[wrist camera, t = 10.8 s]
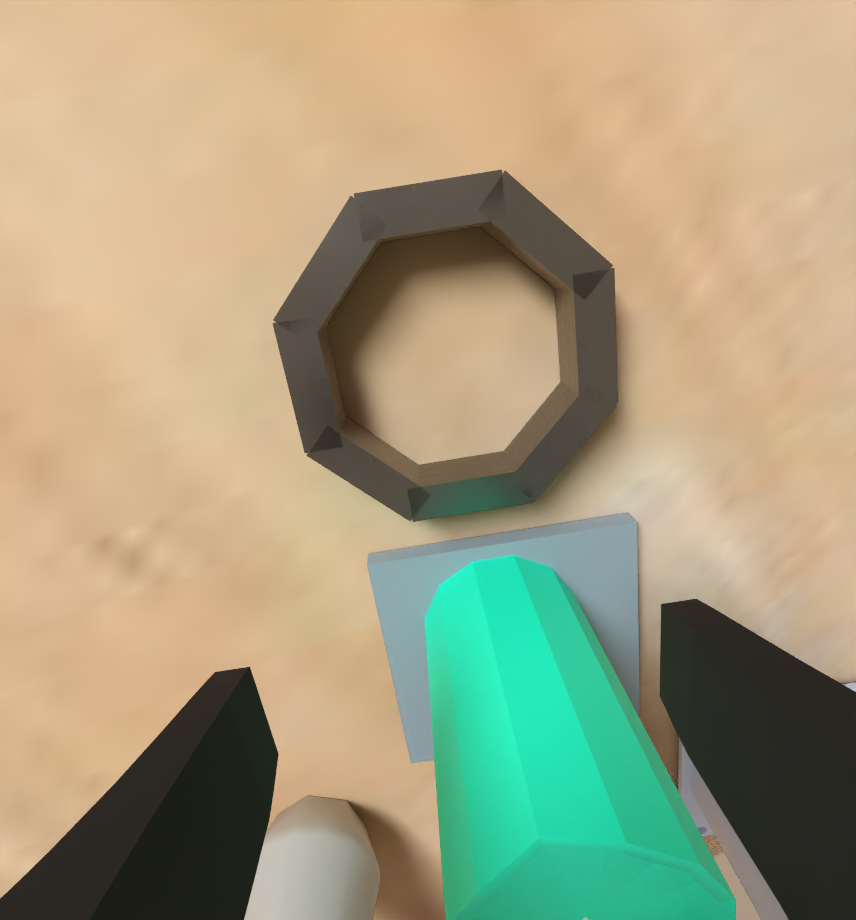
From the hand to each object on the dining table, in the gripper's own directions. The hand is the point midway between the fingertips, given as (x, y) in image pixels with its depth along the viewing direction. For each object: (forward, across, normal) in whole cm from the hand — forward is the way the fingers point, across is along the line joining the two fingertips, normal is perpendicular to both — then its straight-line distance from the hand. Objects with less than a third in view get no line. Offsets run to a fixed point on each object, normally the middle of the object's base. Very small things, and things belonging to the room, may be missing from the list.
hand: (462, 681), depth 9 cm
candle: (+10, -2, +7) cm, 12 cm away
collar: (+10, -1, -4) cm, 11 cm away
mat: (+10, -2, +8) cm, 13 cm away
